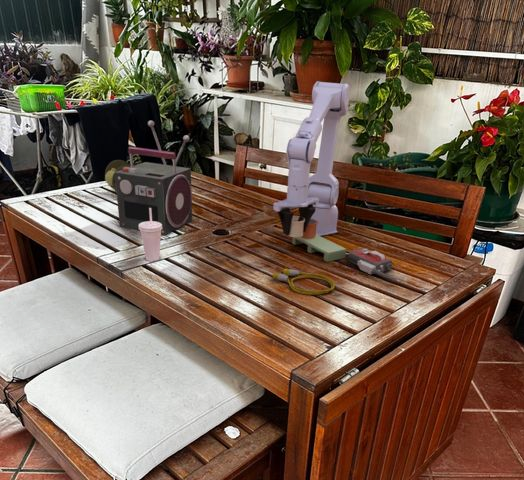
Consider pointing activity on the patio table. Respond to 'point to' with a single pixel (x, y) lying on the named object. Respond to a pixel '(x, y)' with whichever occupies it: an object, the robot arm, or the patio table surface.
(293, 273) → the extension cord
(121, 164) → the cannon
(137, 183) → the boombox
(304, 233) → the terracotta pot
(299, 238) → the sage green baseplate
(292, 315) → the patio table surface
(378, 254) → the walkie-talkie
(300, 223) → the cream pot
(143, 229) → the smoothie
